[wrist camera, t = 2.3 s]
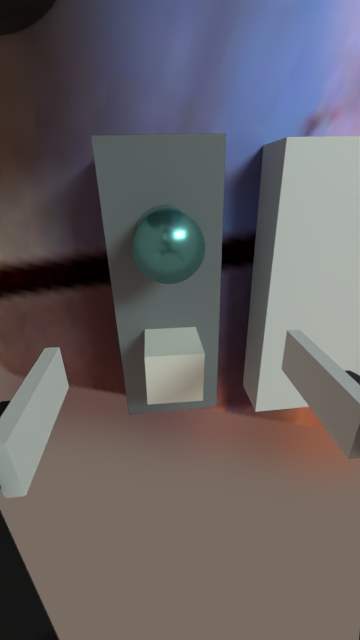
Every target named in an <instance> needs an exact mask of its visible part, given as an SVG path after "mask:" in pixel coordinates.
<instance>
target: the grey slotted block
mask: <svg viewBox="0 0 360 640" xmlns="http://www.w3.org/2000/svg"><path fill="white" fill-rule="evenodd" d="M91 139H92V146H93V154H94V161H95V168H96V176H97V183H98V190H99V198H100V205H101V212H102V220H103V227H104V234H105V242H106V249H107V256H108V264H109V271H110V278H111V286H112V293H113V300H114V308H115V315H116V322H117V330H118V337H119V344H120V352H121V359H122V366H123V374H124V381H125V388H126V396H127V403H128V410H129V415H131V414H141V413H151V412H162V411H173V410H184V409H194V408H205V407H215V406H216V400H217V372H218V344H219V316H220V288H221V260H222V232H223V204H224V176H225V148H226V133H224V134H157V135H91ZM160 205H169V206H173V207H176V208H178V209H180V210H181V211H183V212H184V213H185V214H186V215H188V216H189V217H190V218H191V219H193V220H194V221H195V222H196V223H197V225H198V226H199V227H200V229H201V231H202V233H203V236H204V240H205V255H204V259H203V261H202V264H201V266H200V267H199V269H198V270H197V271H196V272H195V273H194V274H193V275H192V276H191V277H190V278H188V279H186V280H185V281H182V282H179V283H175V284H163V283H159V282H156V281H153V280H152V279H150V278H148V277H147V276H146V275H145V274H144V273H143V272H142V271H141V270H140V269H139V267H138V265H137V263H136V261H135V258H134V254H133V241H134V237H135V233H136V229H137V226H138V223H139V221H140V219H141V217H142V216H143V215H144V214H145V213H146V212H147V211H148V210H150V209H151V208H154V207H156V206H160ZM184 327H196V329H197V332H198V335H199V338H200V341H201V344H202V347H203V350H204V353H205V361H204V384H203V401H190V402H177V403H163V404H149V405H148V404H147V389H146V373H145V357H144V356H145V329H163V328H184Z"/></svg>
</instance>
